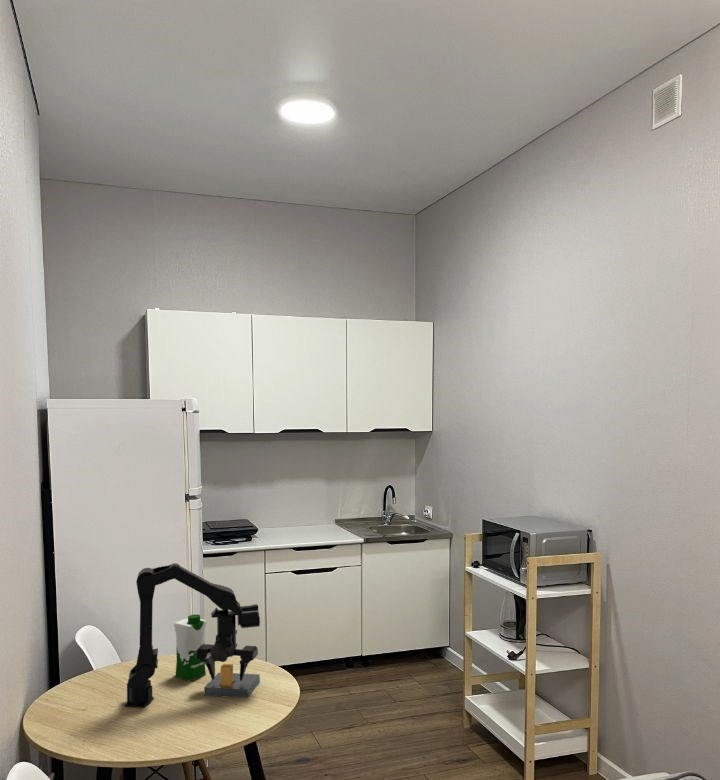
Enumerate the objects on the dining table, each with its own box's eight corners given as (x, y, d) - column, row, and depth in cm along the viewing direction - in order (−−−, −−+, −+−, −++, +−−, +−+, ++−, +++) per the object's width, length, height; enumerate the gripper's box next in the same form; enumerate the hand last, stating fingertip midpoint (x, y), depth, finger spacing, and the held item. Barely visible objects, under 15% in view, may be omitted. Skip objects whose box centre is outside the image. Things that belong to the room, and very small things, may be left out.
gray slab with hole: (204, 695, 207) (204, 687, 207) (218, 680, 219) (218, 672, 219) (247, 697, 205) (247, 689, 205) (259, 682, 217) (259, 674, 217)
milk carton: (189, 682, 218) (188, 620, 218) (171, 677, 223) (170, 616, 224) (209, 674, 225) (209, 613, 226) (191, 668, 230) (191, 609, 231)
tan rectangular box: (220, 693, 209) (220, 667, 209) (224, 689, 212) (223, 663, 212) (230, 693, 209) (229, 667, 209) (233, 689, 212) (232, 663, 212)
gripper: (188, 637, 205) (188, 689, 204) (246, 639, 202) (247, 691, 201) (202, 625, 216) (202, 675, 215) (258, 627, 213) (258, 677, 212)
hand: (227, 679), depth 210 cm, fingers open, 9 cm apart
